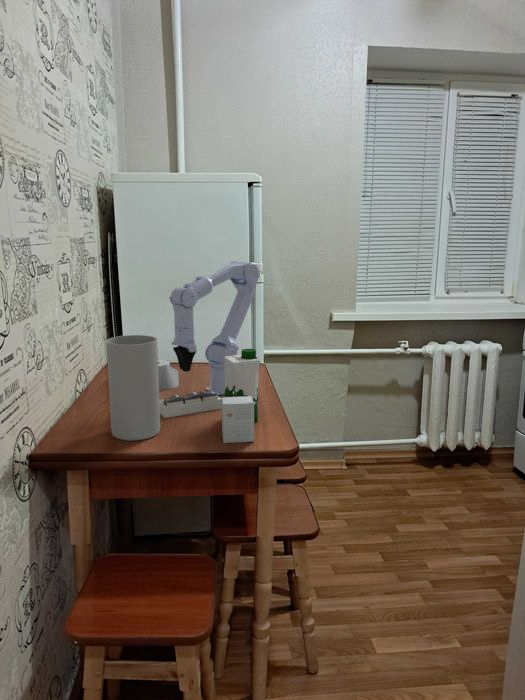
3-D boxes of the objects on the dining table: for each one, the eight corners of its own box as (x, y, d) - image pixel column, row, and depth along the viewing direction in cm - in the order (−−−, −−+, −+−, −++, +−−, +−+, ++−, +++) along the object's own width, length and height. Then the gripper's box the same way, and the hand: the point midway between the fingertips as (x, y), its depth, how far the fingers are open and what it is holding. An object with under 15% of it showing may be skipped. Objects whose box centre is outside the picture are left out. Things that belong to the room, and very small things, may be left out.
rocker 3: (212, 396, 157) (213, 391, 157) (216, 398, 155) (217, 393, 155) (199, 395, 155) (200, 390, 155) (202, 397, 153) (203, 392, 153)
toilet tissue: (184, 385, 179) (184, 361, 177) (151, 393, 170) (150, 367, 168) (170, 380, 185) (169, 356, 183) (137, 387, 176) (136, 362, 174)
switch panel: (223, 399, 164) (223, 387, 163) (234, 406, 157) (234, 393, 157) (155, 409, 154) (155, 397, 153) (164, 418, 147) (163, 404, 146)
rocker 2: (196, 395, 155) (195, 391, 154) (199, 398, 152) (198, 393, 152) (182, 400, 153) (181, 396, 152) (186, 403, 151) (185, 398, 150)
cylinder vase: (162, 439, 132) (159, 343, 127) (112, 444, 129) (106, 346, 123) (158, 422, 144) (154, 334, 138) (111, 426, 140) (106, 336, 135)
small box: (252, 433, 136) (252, 395, 134) (254, 442, 131) (254, 402, 129) (221, 435, 135) (221, 396, 133) (222, 443, 130) (222, 403, 128)
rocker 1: (178, 398, 152) (177, 393, 152) (182, 400, 150) (181, 396, 149) (164, 403, 150) (163, 398, 150) (167, 406, 148) (166, 401, 147)
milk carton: (262, 422, 144) (262, 352, 140) (231, 426, 141) (231, 355, 137) (250, 412, 152) (250, 346, 148) (221, 416, 149) (220, 348, 144)
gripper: (163, 324, 162) (165, 366, 165) (179, 332, 149) (181, 377, 152) (185, 322, 165) (186, 363, 168) (202, 330, 153) (203, 374, 156)
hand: (185, 370), depth 160 cm, fingers closed
